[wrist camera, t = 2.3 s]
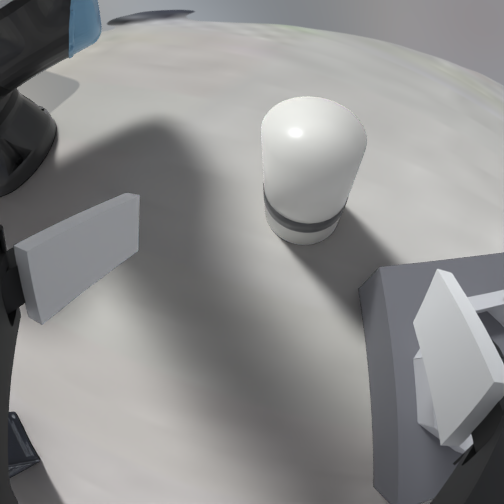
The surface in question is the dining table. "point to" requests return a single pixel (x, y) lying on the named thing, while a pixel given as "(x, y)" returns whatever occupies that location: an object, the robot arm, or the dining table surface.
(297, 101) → the white glossy rounded part
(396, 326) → the octagonal socket base
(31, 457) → the small box
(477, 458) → the robot arm
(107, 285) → the dining table surface
